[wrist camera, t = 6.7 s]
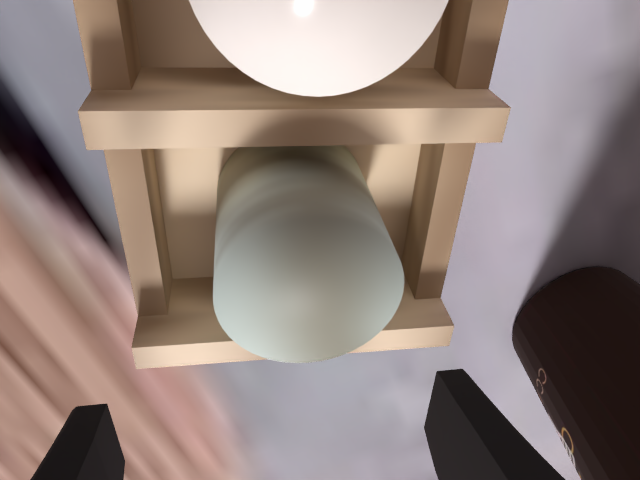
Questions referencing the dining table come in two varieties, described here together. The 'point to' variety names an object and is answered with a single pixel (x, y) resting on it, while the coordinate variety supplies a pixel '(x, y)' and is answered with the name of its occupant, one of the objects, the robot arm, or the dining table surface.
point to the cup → (318, 39)
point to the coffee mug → (587, 367)
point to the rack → (283, 187)
